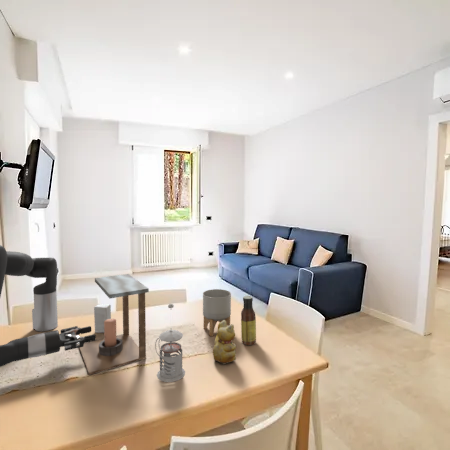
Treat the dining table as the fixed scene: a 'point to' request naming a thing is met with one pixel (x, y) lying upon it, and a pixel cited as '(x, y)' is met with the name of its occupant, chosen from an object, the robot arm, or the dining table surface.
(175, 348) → the french press
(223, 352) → the decorative figurine
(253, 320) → the sauce bottle
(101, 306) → the skincare box
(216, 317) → the planter
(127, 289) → the slanted top stand
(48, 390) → the dining table surface
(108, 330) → the peg
